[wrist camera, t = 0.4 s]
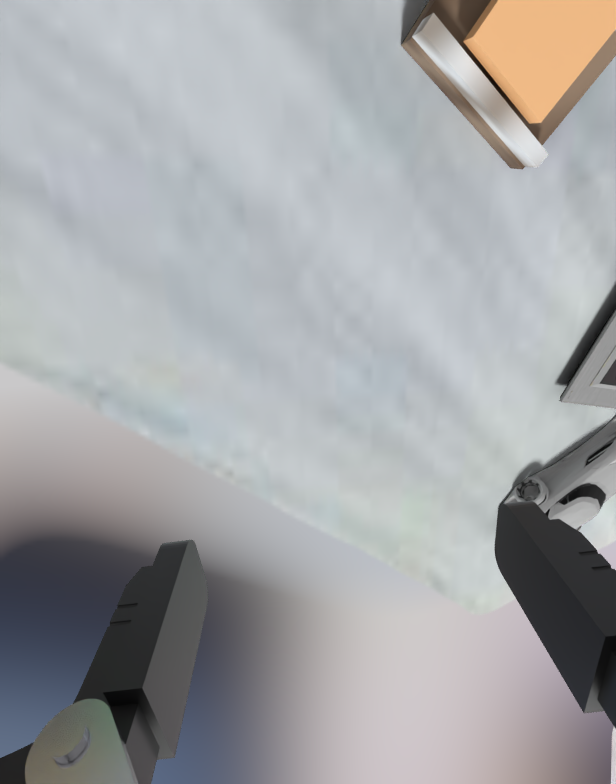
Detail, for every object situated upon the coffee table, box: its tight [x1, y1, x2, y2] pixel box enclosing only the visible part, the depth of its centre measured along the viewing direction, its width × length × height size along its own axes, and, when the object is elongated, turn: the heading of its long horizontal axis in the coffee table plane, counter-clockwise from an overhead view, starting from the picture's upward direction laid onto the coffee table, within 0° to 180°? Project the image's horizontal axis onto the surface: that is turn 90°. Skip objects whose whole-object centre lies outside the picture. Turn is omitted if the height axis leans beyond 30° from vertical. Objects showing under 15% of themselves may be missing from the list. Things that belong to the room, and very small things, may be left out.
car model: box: [503, 416, 616, 531], centre depth 50 cm, size 11×24×5 cm, turn 138°
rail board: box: [401, 0, 616, 169], centre depth 25 cm, size 12×10×3 cm
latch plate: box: [463, 0, 616, 124], centre depth 24 cm, size 7×7×1 cm
